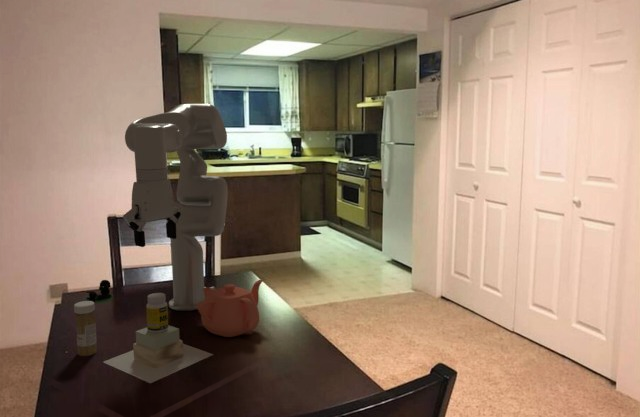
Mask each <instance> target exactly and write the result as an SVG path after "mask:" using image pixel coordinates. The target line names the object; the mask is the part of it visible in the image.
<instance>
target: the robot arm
mask: <svg viewBox="0 0 640 417" xmlns="http://www.w3.org/2000/svg"><path fill="white" fill-rule="evenodd" d="M225 126H226V125H225V124H224V121H223V119H222V116H221V114H220V113H219V110H218V109H217V108H216V106H214V105H213V104H211V103H181V104H178V105H176V106H175V107H173V108H171V109H169V110H168V111H167V112H162V113H159V114H154V115H149V116H144V117H142V118H139V119H136V120H134V121H132V122H131V123H130V124H129V125H128V126H127V128H126V130H125V134H124V142H125V145H126V147H127V148H128V149H129V151H131V152H133V153H134V163H135V164H134V165H135V177H136V178H135V179H136V181H134V182H133V183H132V184H133V185H132V190H131V209H129V210H128V211H127V212H126V213H125V214H123V216H122V218H123V220H124V221H125V223H126V225H127V227H129V228H130V230H132V231H133V238H134V239H133V240H134V241H133V242H134V244H135V246H136V247H139V248H140V247H141V248H144V247H145V246H146V236H145V231H144V230H143V229H144V227H145V226H146V224H147V223H152V222H157V221H162V220H166V223H165V230H166V238H168V239H170V247H171V248H170V249H171V250H170V251H171V268H172V269H171V270H172V272H171V273H172V290H173V291H172V292H173V293H172V294H173V296H172V297H173V298H172V299H171V300H169V302H168V307H169V308H170V309H171V310H174V311H180V312H181V311H182V312H183V311H184V312H185V311H195V310H197V311H198V308H197V305H198V303H199V302H201V301H203V300H205V295H204V291H203V288H206V287H207V286H205V274H204V273H205V271H204V251H203V246H202V245H201V243H200V242H199V240H198V239H197V238H196V237H217V236H220V235H222V234H223V232H224V230H225V224H226V216H227V215H226V214H227V207H228V195H229V192H228V191H229V190H228V183H227V181H226V179H225V178H224V177H222V176H218V175H207V173H208V165H207V163H206V161H205V160H204V158H203V157H202V156H201V155H200V154H199V153H198V152H197V151H196V150H221V149H223V148H224V147H225V146H226V145H227V140H228V135H227V134H228V133H227V130H226V127H225ZM175 152H176V153H177V157H178V161H179V162H180V165H179V166H180V168H179V175H178V180H177V185H176V186H177V188H176V198H177V201H178V202H179V203H178V202H177V201H175V199H174V193H173V188H172V187H173V186H172V185H171V184H172V183H171V180H170V179H169V175H170V174H171V170H170V168H168V160H167V153H168V154H169V153H175ZM209 288H211V290H215V289H216V287H215V286H211V287H209Z"/></svg>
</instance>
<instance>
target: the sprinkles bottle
mask: <svg viewBox="0 0 640 417" xmlns="http://www.w3.org/2000/svg"><path fill="white" fill-rule="evenodd" d="M95 304H96V303H94V302H92V301H85V300H83V301H79V302H76V303H75V304H73V311H74V314H75V330H76V333H75V334H76V345H77V355H78V356H80V357H88V356H89V357H90V356H92V355H95V354H96V353H97V352H98V350H97V348H98V347H97V328H96V327H97V326H96V317H95V316H96V314H95V310H96V306H95Z"/></svg>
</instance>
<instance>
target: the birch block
mask: <svg viewBox="0 0 640 417" xmlns="http://www.w3.org/2000/svg"><path fill="white" fill-rule="evenodd" d="M183 344H184V342H183V340H182V339H180V341H178V342H175V343H173V344H170V345H168V346H165V347H163V348H160V349H158V350H152V349H149V348H147V347H144V346H141V345H139V344H136V342H134V343H132V348H133V349H132V350H134V360H136V361H138V362H141V363H143V364H145V365H148V366H150V367H153V368H155V369H156V368H158V367H160V366H163V365H165V364H167V363H170V362H172V361H174V360H176V359H179V358H181V357H183Z"/></svg>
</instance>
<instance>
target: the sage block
mask: <svg viewBox="0 0 640 417" xmlns="http://www.w3.org/2000/svg"><path fill="white" fill-rule="evenodd" d="M180 340H181V339H180V328H178V327H175V326H173V325H169V324H168V329H167V330H166V331H164V332H160V333H151V332H149V331H148V330H147V327H143V328H141V329H138V330H135V343H136V344H139V345H141V346H144V347H147V348H149V349H152V350H158V349H160V348H163V347H165V346H168V345H170V344H173V343H175V342H178V341H180Z"/></svg>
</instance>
